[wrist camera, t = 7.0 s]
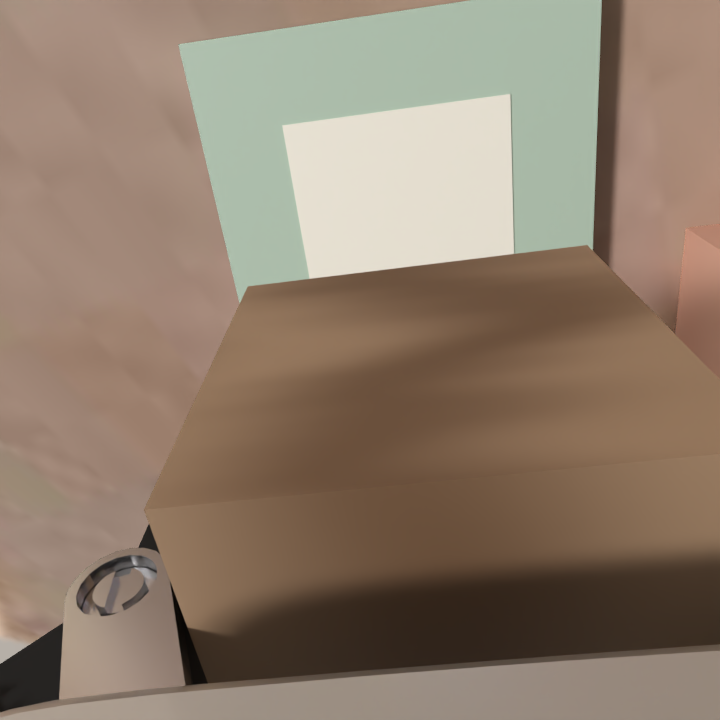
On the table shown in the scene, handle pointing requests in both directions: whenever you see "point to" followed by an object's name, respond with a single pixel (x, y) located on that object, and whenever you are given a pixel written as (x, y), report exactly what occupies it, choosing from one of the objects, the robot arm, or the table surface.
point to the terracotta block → (701, 295)
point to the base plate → (401, 137)
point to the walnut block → (444, 474)
